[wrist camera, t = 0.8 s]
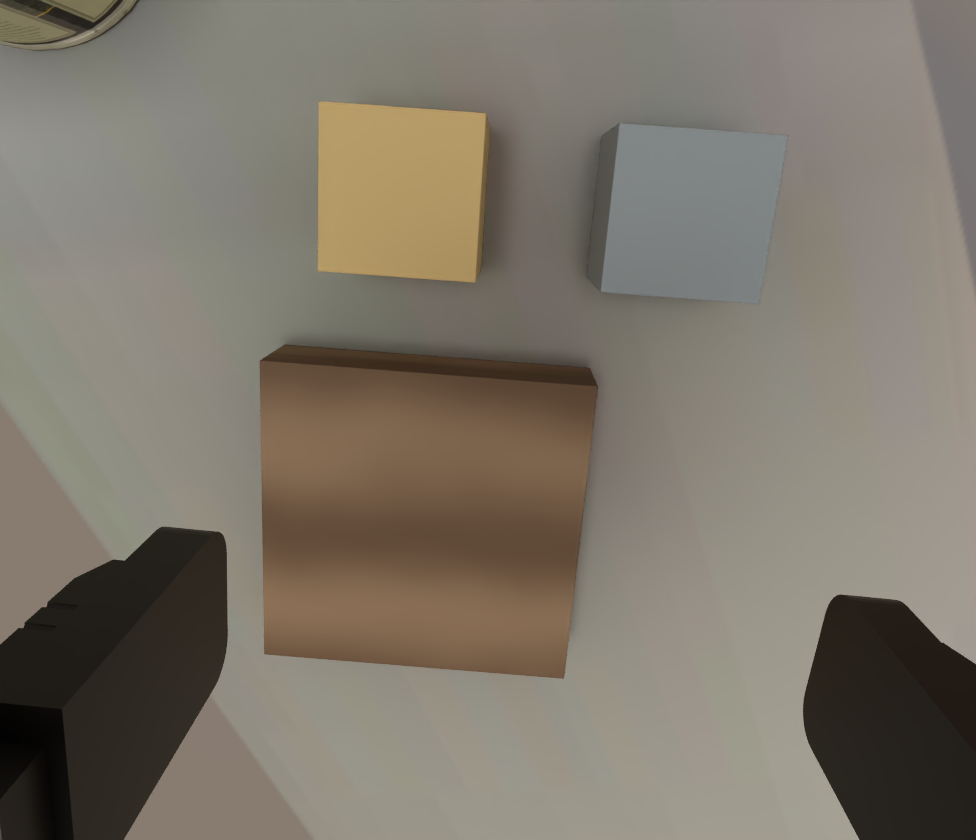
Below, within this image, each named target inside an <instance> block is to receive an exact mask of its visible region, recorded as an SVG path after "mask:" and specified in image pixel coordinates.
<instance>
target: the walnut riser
mask: <svg viewBox="0 0 976 840" xmlns="http://www.w3.org/2000/svg"><path fill="white" fill-rule="evenodd" d="M597 389H598V386H597V384H596V381H595V379H594V377H593V375H592V372H591V370H590V368H581V367H568V366H555V365H541V364H528V363H515V362H502V361H489V360H476V359H463V358H450V357H437V356H424V355H411V354H398V353H385V352H372V351H359V350H346V349H333V348H319V347H306V346H293V345H283V346H282V347H280V348H279V349H277V350H276V351H274V352H273V353H271V354H269V355H268V356H266V357H265V358H263V359H262V360H260V401H261V465H262V528H263V592H264V654H268V655H280V656H292V657H305V658H317V659H329V660H341V661H354V662H366V663H378V664H391V665H403V666H415V667H428V668H440V669H452V670H464V671H477V672H489V673H501V674H514V675H526V676H538V677H551V678H563V679H564V674H565V665H566V657H567V648H568V639H569V631H570V622H571V613H572V605H573V596H574V588H575V579H576V570H577V562H578V553H579V544H580V536H581V527H582V519H583V510H584V501H585V493H586V484H587V475H588V467H589V458H590V450H591V441H592V432H593V424H594V415H595V407H596V398H597Z"/></svg>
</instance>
